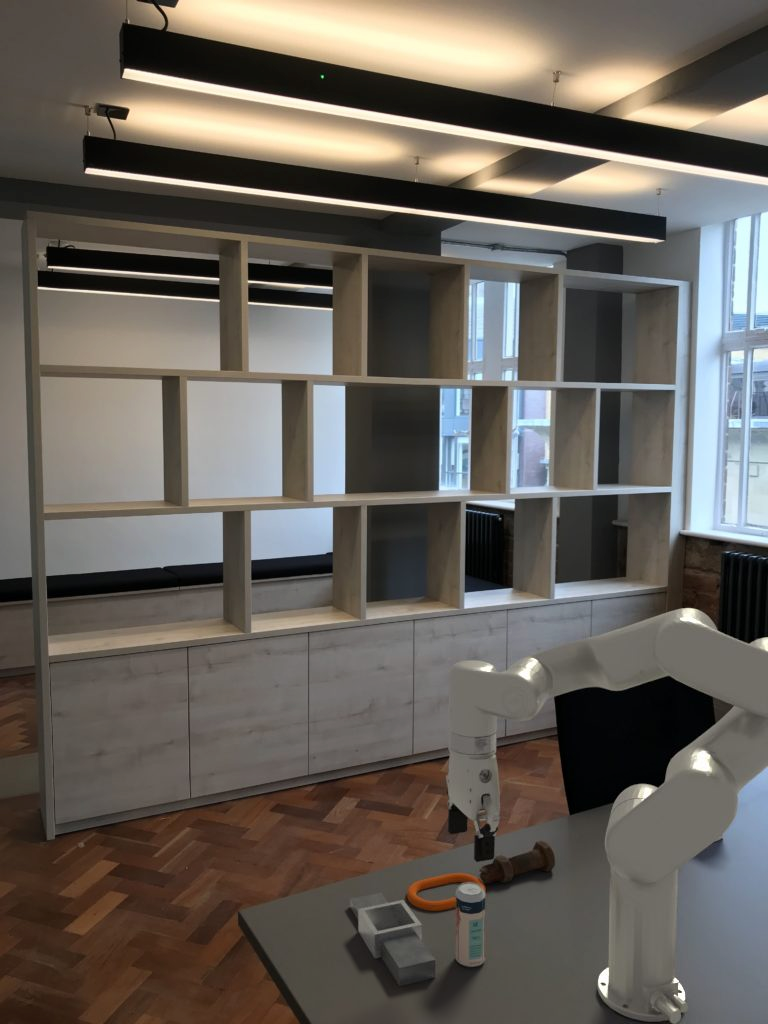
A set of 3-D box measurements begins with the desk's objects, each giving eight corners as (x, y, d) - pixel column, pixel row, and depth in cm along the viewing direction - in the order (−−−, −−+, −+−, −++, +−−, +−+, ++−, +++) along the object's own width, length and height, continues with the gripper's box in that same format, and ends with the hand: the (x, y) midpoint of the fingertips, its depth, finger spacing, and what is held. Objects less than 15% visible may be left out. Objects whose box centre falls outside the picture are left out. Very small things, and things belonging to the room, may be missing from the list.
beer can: (466, 948, 141) (466, 877, 140) (490, 959, 138) (491, 887, 137) (449, 961, 137) (449, 889, 136) (474, 973, 134) (474, 899, 133)
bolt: (481, 893, 162) (545, 872, 169) (493, 891, 158) (559, 869, 165) (471, 860, 164) (535, 841, 171) (484, 858, 160) (549, 838, 167)
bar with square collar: (441, 976, 133) (441, 951, 133) (392, 987, 131) (392, 962, 130) (387, 899, 156) (386, 878, 156) (344, 908, 153) (343, 886, 153)
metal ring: (495, 891, 156) (420, 908, 150) (495, 900, 156) (421, 918, 151) (469, 867, 165) (398, 883, 159) (469, 876, 165) (398, 891, 159)
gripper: (520, 757, 128) (517, 867, 130) (470, 721, 144) (468, 819, 146) (474, 763, 126) (472, 875, 127) (429, 725, 142) (427, 826, 143)
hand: (470, 845), depth 136 cm, fingers open, 9 cm apart
